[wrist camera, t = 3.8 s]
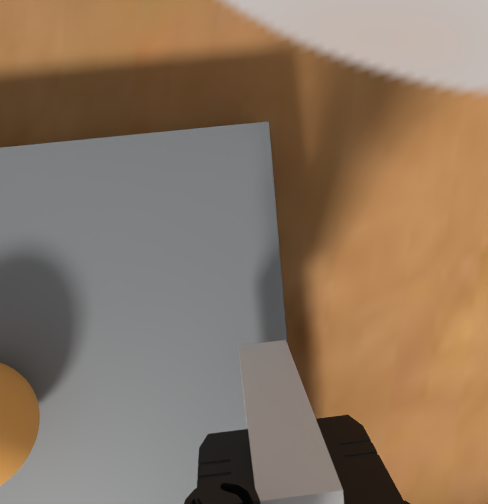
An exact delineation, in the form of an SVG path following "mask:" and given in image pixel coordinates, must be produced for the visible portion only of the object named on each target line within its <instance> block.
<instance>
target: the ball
mask: <svg viewBox="0 0 488 504" xmlns="http://www.w3.org/2000/svg"><path fill="white" fill-rule="evenodd" d="M39 425H40V411H39V405H38V401H37V397H36V395H35V393H34V390H33V389H32V387H31V385H30V384H29V383H28V381H27V380H26V379H25V378H24V377H23V376H22V375H21V374H20V373H19V372H17V371H16V370H14V369H13V368H11V367H9V366H8V365H5V364H3V363H1V362H0V486H1V485H3V484H4V483H5V482H6V481H8V480H9V479H10V478H11V477H12V476H13V475H14V474H15V473H16V472H17V471H18V470H19V469H20V468H21V466H22V465H23V464H24V462H25V461H26V459H27V458H28V456H29V454H30V452H31V450H32V448H33V446H34V444H35V441H36V438H37V435H38V431H39Z"/></svg>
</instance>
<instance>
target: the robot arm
mask: <svg viewBox="0 0 488 504" xmlns="http://www.w3.org/2000/svg"><path fill="white" fill-rule="evenodd" d="M238 349H239V358H240V367H241V377H242V386H243V395H244V404H245V414H246V423H247V429H243V430H235V431H227V432H219V433H211V434H208V435H207V436H206V438H205V439H204V441H203V442H202V444H201V446H200V447H199V456H198V475H197V477H198V480H197V488H196V489H194V490H193V491H192V493H191V494H190V495H189V496H188V497H187V498H186V499H185V502H184V504H410V503H408V502H407V501H404V500H403V499H402V497H401V495H400V493H399V491H398V490H397V488H396V486H395V484H394V482H393V480H392V479H391V477H390V475H389V473H388V471H387V469H386V468H385V466H384V464H383V462H382V460H381V458H380V456H379V455H377V451H376V449H375V447H374V445H373V444H372V443H371V440H370V438H369V436H368V434H367V433H366V431H365V429H364V427H363V426H362V425H361V424H360V423H358V422H357V421H356V420H354V419H353V418H352V417H350V416H349V415H343V416H335V417H327V418H319V419H316V418H315V415H314V413H313V410H312V407H311V405H310V402H309V400H308V397H307V394H306V392H305V389H304V386H303V384H302V381H301V379H300V376H299V373H298V371H297V368H296V365H295V363H294V360H293V358H292V355H291V352H290V350H289V347H288V344H287V342H286V340H280V341H272V342H263V343H255V344H246V345H238Z"/></svg>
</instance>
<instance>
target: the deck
mask: <svg viewBox="0 0 488 504" xmlns="http://www.w3.org/2000/svg"><path fill="white" fill-rule="evenodd" d="M280 340H286V342H287V333H286V321H285V309H284V297H283V285H282V273H281V261H280V249H279V237H278V225H277V213H276V201H275V189H274V177H273V165H272V153H271V141H270V129H269V121H267V122H257V123H247V124H236V125H226V126H216V127H206V128H196V129H185V130H175V131H165V132H155V133H144V134H134V135H124V136H114V137H104V138H93V139H83V140H73V141H63V142H52V143H42V144H32V145H22V146H12V147H1V148H0V362H1V363H3V364H5V365H8V366H9V367H11V368H13V369H14V370H16V371H17V372H19V373H20V374H21V375H22V376H23V377H24V378H25V379H26V380H27V381H28V383H29V384H30V385H31V387H32V389H33V390H34V393H35V395H36V397H37V401H38V405H39V411H40V425H39V431H38V435H37V438H36V441H35V444H34V446H33V448H32V450H31V452H30V454H29V456H28V458H27V459H26V461H25V462H24V464H23V465H22V466H21V468H20V469H19V470H18V471H17V472H16V473H15V474H14V475H13V476H12V477H11V478H10V479H9V480H8V481H6V482H5V483H4V484H3V485H1V486H0V504H184V502H185V499H186V498H187V497H188V496H189V495H190V494H191V493H192V491H193V490H194V489H196V488H197V480H198V477H197V475H198V456H199V447H200V446H201V444H202V442H203V441H204V439H205V438H206V436H207V435H208V434H211V433H219V432H227V431H235V430H243V429H247V423H246V414H245V404H244V395H243V386H242V377H241V367H240V358H239V349H238V345H246V344H255V343H263V342H272V341H280Z"/></svg>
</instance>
